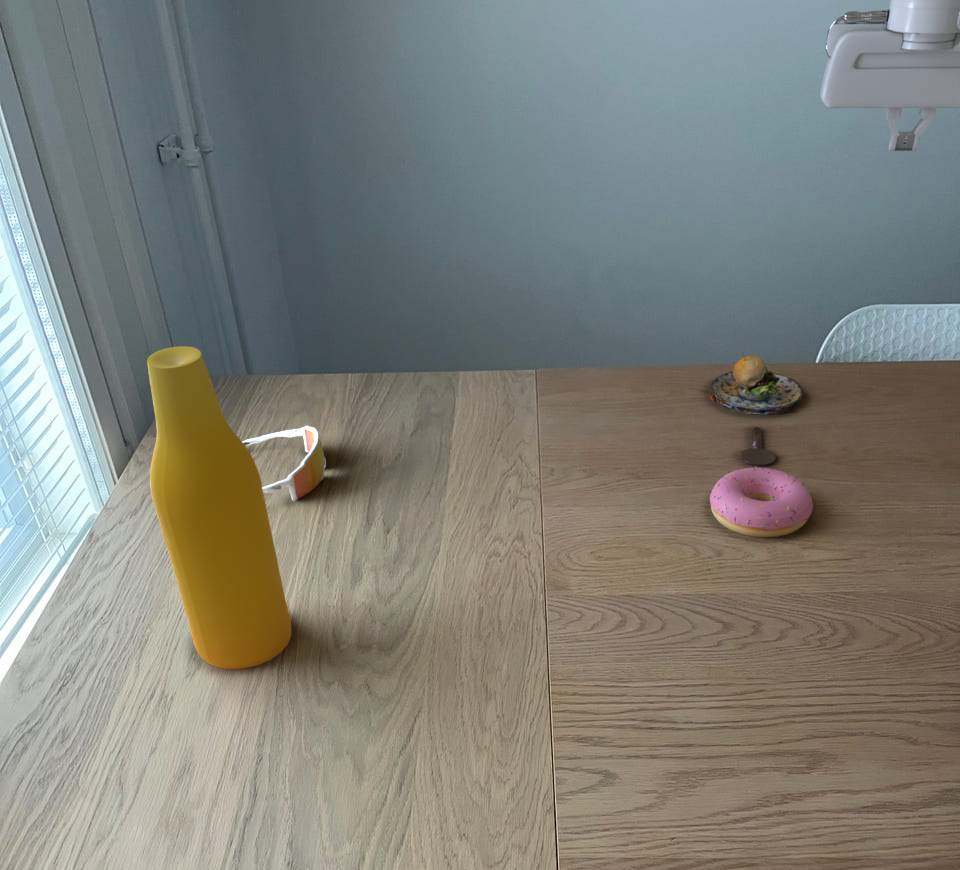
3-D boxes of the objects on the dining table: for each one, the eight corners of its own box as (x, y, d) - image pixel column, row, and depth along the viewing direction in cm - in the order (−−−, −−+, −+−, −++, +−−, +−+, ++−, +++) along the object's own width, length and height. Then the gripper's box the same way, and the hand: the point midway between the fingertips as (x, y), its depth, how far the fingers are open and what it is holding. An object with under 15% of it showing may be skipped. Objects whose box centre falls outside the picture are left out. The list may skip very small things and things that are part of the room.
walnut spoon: (772, 434, 122) (773, 426, 122) (775, 472, 115) (776, 463, 115) (739, 433, 123) (740, 424, 122) (740, 470, 116) (741, 461, 115)
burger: (804, 422, 125) (814, 366, 120) (709, 419, 126) (715, 364, 122) (796, 382, 134) (805, 328, 129) (707, 379, 135) (713, 326, 131)
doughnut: (817, 501, 110) (824, 468, 107) (800, 553, 102) (807, 519, 100) (720, 484, 114) (724, 452, 111) (697, 533, 106) (700, 500, 103)
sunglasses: (323, 507, 113) (311, 470, 110) (199, 528, 115) (183, 492, 112) (337, 448, 124) (325, 413, 121) (223, 468, 126) (209, 433, 123)
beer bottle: (313, 639, 95) (258, 351, 76) (236, 689, 90) (157, 393, 71) (253, 602, 100) (188, 324, 81) (177, 648, 94) (89, 362, 76)
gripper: (833, 16, 104) (810, 156, 113) (1040, 12, 101) (1000, 157, 110) (828, 7, 109) (807, 143, 118) (1026, 3, 106) (989, 143, 114)
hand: (902, 150), depth 114 cm, fingers closed
